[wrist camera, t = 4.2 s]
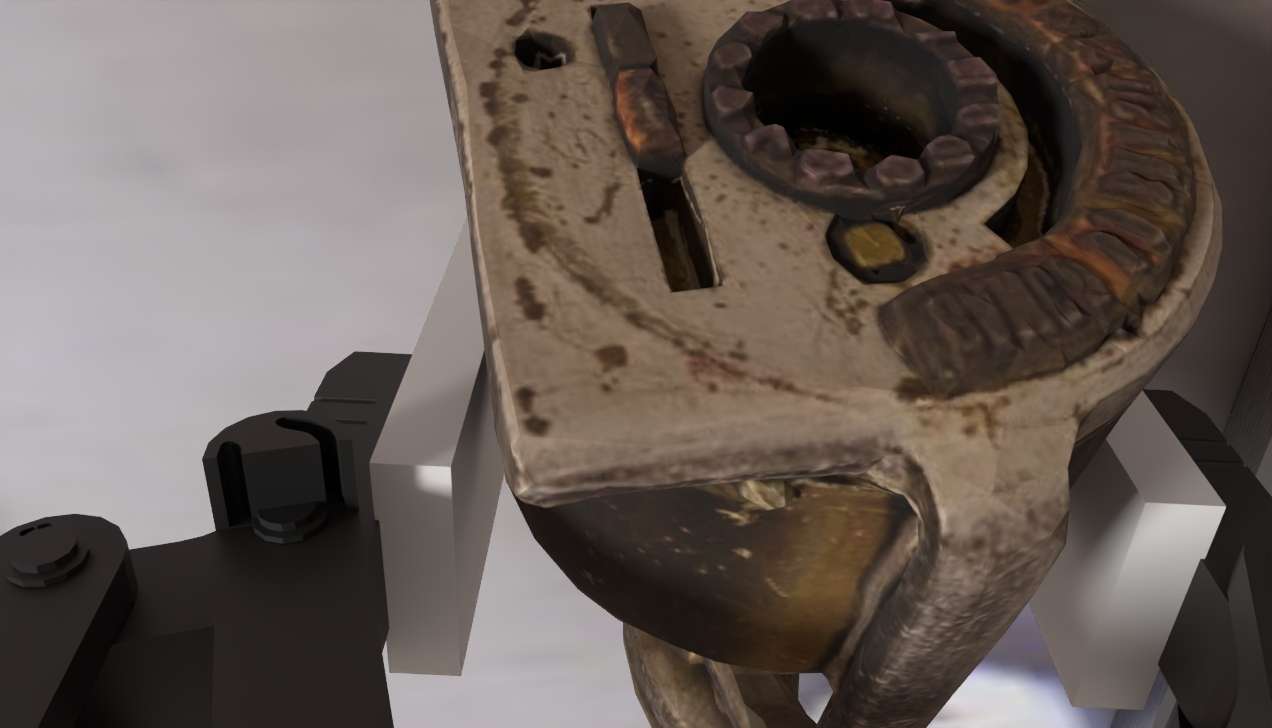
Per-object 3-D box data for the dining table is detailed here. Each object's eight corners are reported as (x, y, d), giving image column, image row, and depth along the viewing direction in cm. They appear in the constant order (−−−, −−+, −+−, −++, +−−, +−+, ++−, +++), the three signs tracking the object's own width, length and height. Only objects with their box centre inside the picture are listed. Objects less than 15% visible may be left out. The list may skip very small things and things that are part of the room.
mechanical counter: (890, -254, 14) (1592, -264, 5) (997, 500, 20) (1389, 1054, 12) (358, -75, 14) (179, 201, 5) (632, 615, 20) (751, 1244, 12)
